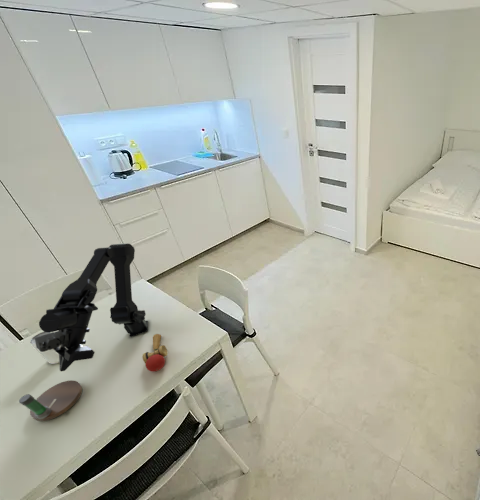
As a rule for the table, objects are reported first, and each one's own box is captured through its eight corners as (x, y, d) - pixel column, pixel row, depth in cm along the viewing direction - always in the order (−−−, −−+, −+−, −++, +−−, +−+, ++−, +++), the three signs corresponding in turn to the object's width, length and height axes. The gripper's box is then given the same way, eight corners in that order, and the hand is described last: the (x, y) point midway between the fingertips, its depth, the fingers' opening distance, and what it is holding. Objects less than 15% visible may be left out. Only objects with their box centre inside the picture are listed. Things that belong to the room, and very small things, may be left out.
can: (57, 365, 109) (37, 346, 102) (44, 362, 110) (23, 343, 103) (74, 351, 114) (56, 331, 107) (61, 348, 115) (42, 329, 108)
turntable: (51, 385, 102) (30, 366, 95) (90, 380, 103) (72, 361, 96) (21, 424, 91) (-4, 406, 84) (66, 418, 92) (44, 400, 86)
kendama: (146, 346, 117) (143, 378, 103) (143, 334, 115) (139, 365, 100) (168, 341, 121) (168, 371, 107) (166, 329, 118) (165, 358, 104)
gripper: (32, 316, 92) (16, 364, 91) (55, 337, 83) (38, 390, 82) (76, 315, 101) (62, 358, 101) (101, 333, 93) (86, 380, 92)
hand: (62, 370), depth 94 cm, fingers closed
